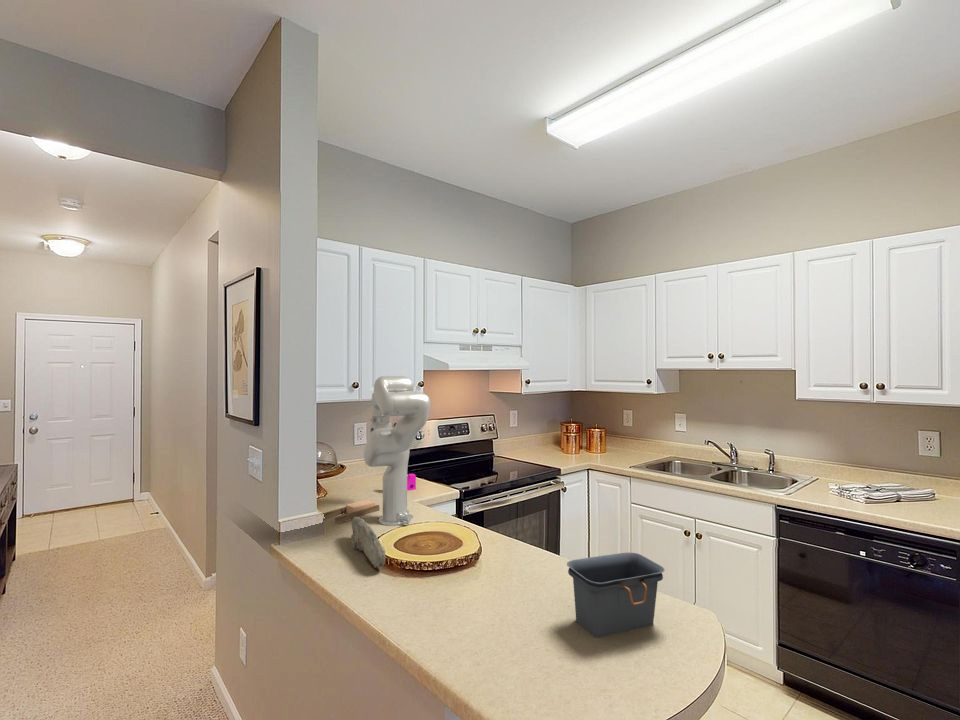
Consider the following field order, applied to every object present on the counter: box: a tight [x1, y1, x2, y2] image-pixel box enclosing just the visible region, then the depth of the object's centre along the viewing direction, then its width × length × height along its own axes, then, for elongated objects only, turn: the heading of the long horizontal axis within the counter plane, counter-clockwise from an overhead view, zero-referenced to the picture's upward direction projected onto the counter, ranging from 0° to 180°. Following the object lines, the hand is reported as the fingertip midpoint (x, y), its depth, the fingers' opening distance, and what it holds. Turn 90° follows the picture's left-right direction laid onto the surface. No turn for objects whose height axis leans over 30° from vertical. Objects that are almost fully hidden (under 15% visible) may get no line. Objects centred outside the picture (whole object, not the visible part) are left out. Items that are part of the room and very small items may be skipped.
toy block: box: [407, 473, 417, 492], centre depth 242 cm, size 15×6×8 cm, turn 118°
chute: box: [323, 504, 380, 525], centre depth 202 cm, size 10×22×2 cm, turn 143°
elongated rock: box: [350, 516, 386, 569], centre depth 160 cm, size 35×5×10 cm, turn 29°
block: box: [345, 499, 376, 514], centre depth 206 cm, size 6×10×4 cm, turn 135°
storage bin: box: [566, 552, 665, 639], centre depth 117 cm, size 21×16×14 cm
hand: (380, 462), depth 215 cm, fingers closed
